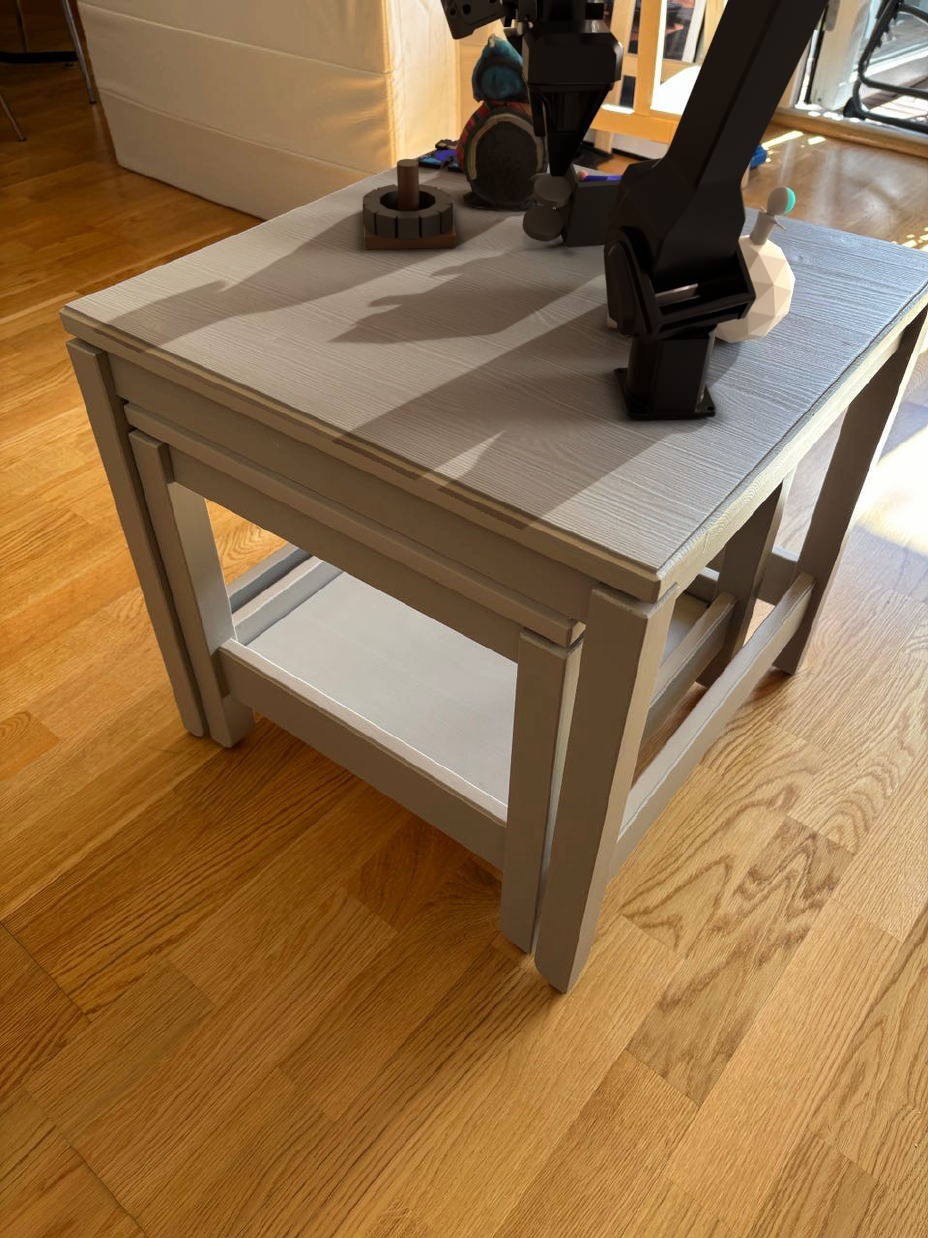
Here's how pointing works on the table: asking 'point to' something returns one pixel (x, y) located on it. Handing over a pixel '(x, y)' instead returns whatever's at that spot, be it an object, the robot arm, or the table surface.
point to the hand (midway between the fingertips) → (548, 154)
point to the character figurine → (571, 207)
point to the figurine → (500, 134)
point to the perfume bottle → (764, 274)
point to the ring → (407, 213)
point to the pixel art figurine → (442, 156)
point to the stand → (409, 202)
